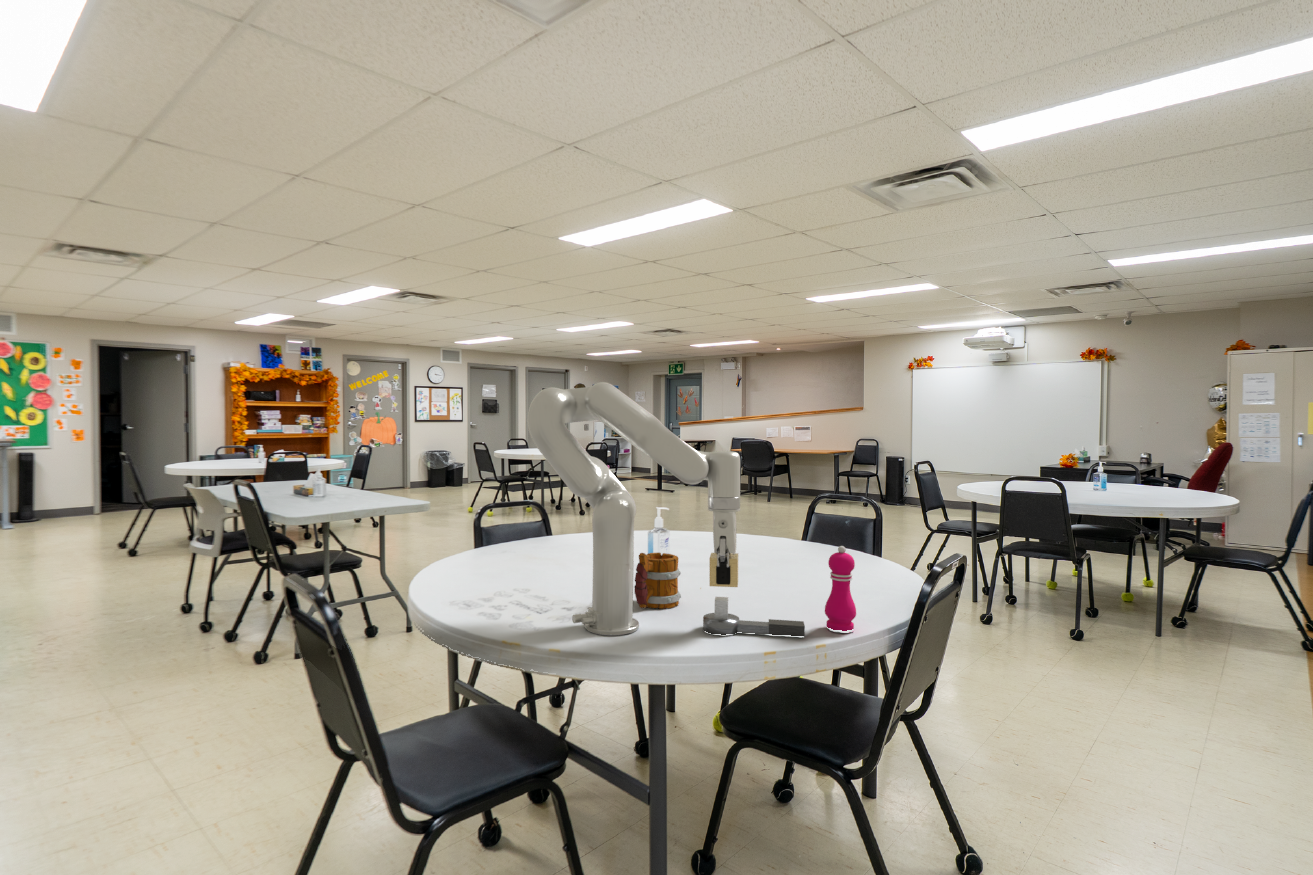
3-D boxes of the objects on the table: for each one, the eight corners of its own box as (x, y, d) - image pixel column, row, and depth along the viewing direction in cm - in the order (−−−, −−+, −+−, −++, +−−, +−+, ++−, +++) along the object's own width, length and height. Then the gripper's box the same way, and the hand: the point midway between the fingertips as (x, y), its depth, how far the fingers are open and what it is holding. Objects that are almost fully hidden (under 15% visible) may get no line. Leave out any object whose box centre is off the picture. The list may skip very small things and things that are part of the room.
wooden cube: (737, 587, 148) (737, 558, 148) (709, 586, 149) (709, 558, 149) (738, 580, 154) (738, 553, 154) (711, 579, 155) (711, 552, 155)
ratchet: (701, 634, 148) (702, 602, 148) (704, 623, 156) (705, 593, 156) (805, 641, 145) (806, 608, 144) (802, 630, 153) (803, 598, 153)
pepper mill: (832, 623, 159) (833, 542, 159) (860, 629, 154) (862, 545, 154) (819, 629, 153) (821, 545, 153) (848, 636, 149) (850, 550, 148)
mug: (687, 602, 175) (688, 547, 175) (653, 616, 162) (654, 557, 161) (654, 596, 181) (655, 542, 181) (619, 609, 168) (620, 551, 167)
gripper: (739, 508, 142) (739, 590, 142) (741, 500, 159) (740, 572, 159) (705, 508, 143) (705, 589, 143) (710, 499, 160) (710, 571, 160)
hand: (724, 579), depth 151 cm, fingers closed on wooden cube, 6 cm apart
